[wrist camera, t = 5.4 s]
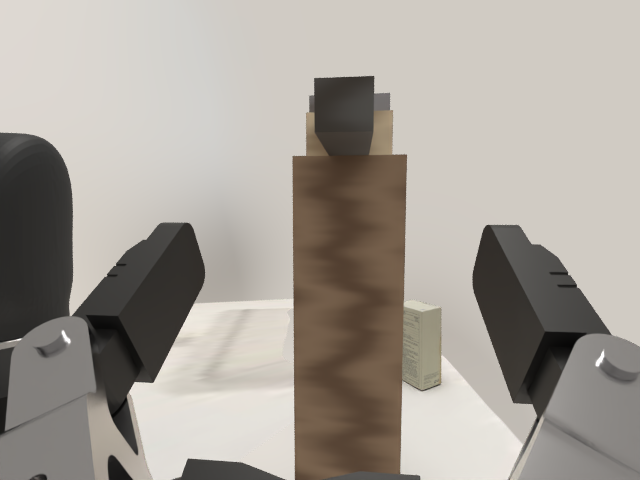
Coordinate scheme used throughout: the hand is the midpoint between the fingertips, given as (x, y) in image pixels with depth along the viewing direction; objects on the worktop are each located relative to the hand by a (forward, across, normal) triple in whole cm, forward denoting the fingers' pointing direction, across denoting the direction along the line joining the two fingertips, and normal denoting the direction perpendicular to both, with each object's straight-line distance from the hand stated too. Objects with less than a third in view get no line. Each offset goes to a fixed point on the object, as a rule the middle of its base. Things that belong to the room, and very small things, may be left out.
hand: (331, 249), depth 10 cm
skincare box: (+28, -10, +46) cm, 55 cm away
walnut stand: (+4, 0, +33) cm, 33 cm away
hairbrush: (+16, 0, +4) cm, 17 cm away
